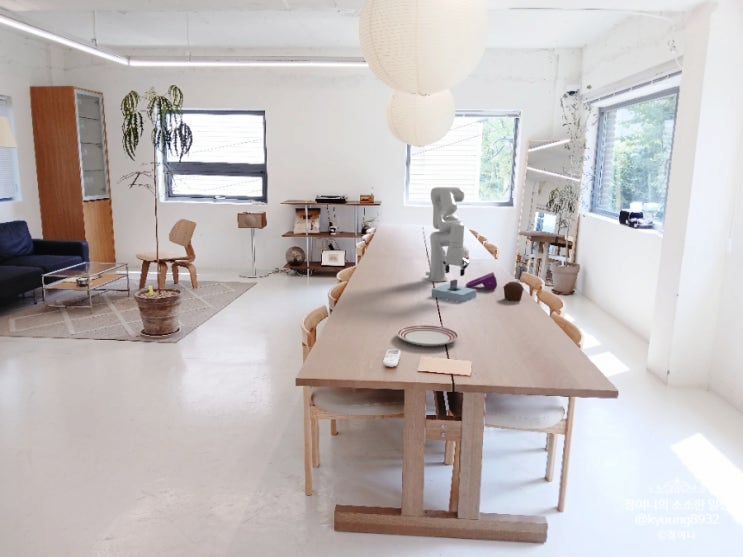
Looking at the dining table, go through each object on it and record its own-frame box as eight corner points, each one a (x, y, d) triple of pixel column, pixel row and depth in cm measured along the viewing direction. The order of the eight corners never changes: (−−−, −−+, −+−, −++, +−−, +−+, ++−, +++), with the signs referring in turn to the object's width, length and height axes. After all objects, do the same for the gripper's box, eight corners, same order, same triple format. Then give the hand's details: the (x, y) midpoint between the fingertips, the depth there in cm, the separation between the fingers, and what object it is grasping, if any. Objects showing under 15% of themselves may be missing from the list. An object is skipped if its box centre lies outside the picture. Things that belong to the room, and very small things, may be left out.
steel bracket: (447, 297, 317) (448, 280, 315) (452, 295, 321) (453, 279, 318) (453, 298, 314) (454, 281, 312) (458, 297, 318) (459, 280, 316)
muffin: (512, 303, 307) (513, 285, 305) (498, 298, 316) (499, 281, 314) (527, 300, 314) (528, 283, 311) (512, 295, 323) (514, 279, 320)
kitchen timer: (471, 257, 436) (472, 239, 432) (464, 260, 424) (465, 241, 421) (455, 255, 443) (456, 237, 439) (448, 258, 431) (449, 239, 428)
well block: (431, 296, 318) (431, 288, 317) (446, 291, 330) (446, 284, 329) (462, 302, 306) (462, 294, 305) (475, 297, 318) (476, 289, 317)
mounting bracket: (470, 298, 338) (498, 288, 333) (465, 286, 337) (493, 275, 332) (471, 294, 347) (498, 284, 342) (466, 282, 346) (493, 272, 341)
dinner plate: (397, 329, 260) (397, 322, 260) (456, 331, 258) (456, 324, 257) (395, 349, 234) (395, 342, 233) (460, 352, 231) (460, 344, 231)
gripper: (439, 243, 314) (438, 273, 318) (466, 247, 303) (464, 278, 308) (446, 242, 320) (445, 270, 324) (473, 246, 309) (471, 275, 313)
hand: (454, 274), depth 316 cm, fingers open, 9 cm apart
